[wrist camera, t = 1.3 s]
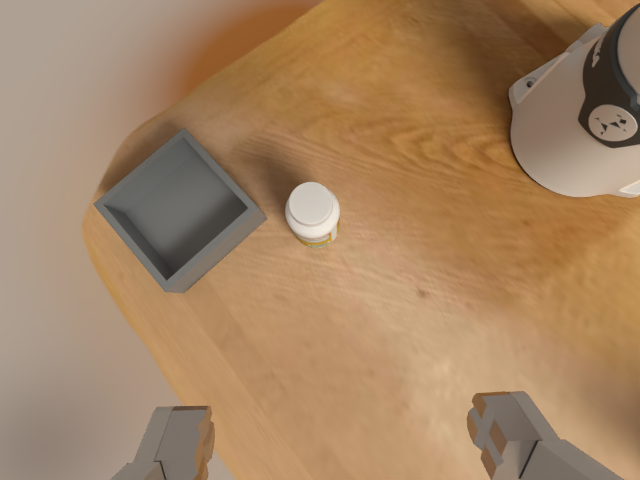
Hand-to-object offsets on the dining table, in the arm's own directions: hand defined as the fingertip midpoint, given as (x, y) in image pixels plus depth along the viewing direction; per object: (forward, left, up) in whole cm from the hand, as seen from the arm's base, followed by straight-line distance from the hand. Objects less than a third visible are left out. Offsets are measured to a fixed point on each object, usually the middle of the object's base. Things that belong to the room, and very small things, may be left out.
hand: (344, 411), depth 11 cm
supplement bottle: (-6, -11, -29) cm, 31 cm away
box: (+4, -22, -28) cm, 36 cm away
